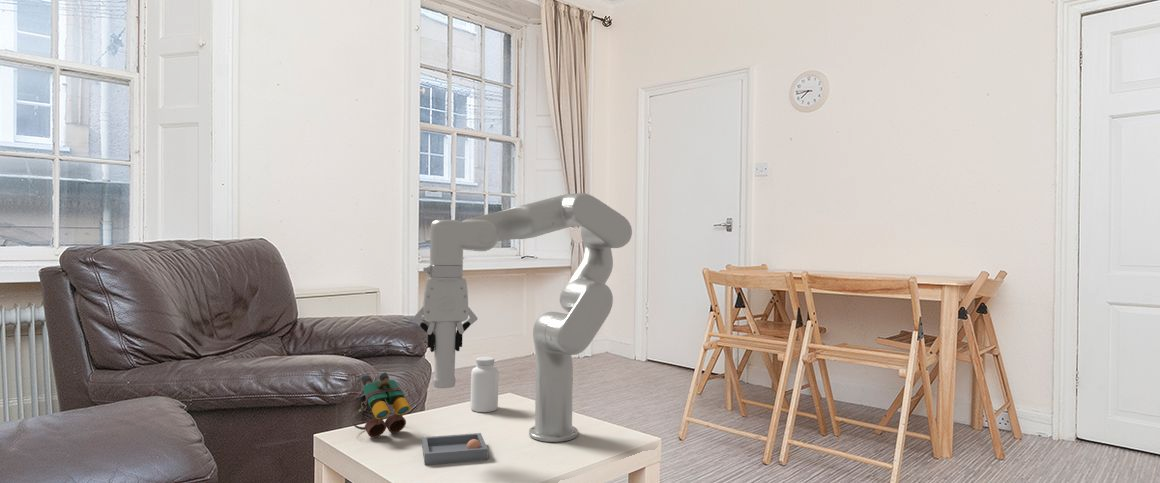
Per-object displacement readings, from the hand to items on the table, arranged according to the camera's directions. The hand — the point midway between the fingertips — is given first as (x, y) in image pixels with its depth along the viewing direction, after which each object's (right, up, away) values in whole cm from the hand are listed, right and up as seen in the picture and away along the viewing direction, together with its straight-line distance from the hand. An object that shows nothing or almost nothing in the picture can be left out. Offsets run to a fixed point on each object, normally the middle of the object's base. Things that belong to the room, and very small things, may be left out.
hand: (444, 349), depth 152 cm
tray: (+2, -25, +1) cm, 25 cm away
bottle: (0, -9, 0) cm, 9 cm away
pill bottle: (+3, -24, +39) cm, 46 cm away
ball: (+7, -24, -1) cm, 25 cm away
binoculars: (-19, -24, +15) cm, 34 cm away
